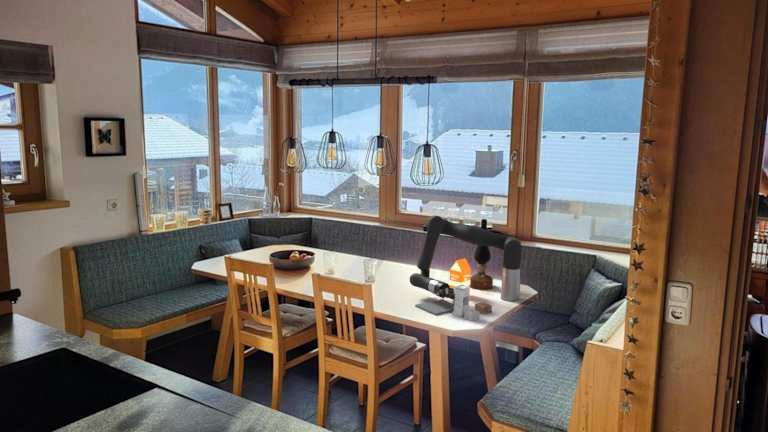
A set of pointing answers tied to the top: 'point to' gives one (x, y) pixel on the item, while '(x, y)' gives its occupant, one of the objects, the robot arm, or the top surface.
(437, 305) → the charcoal mat
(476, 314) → the grey plastic block
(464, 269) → the orange juice
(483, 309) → the walnut block
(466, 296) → the syrup box
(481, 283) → the oil lamp
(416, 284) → the robot arm
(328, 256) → the top surface
